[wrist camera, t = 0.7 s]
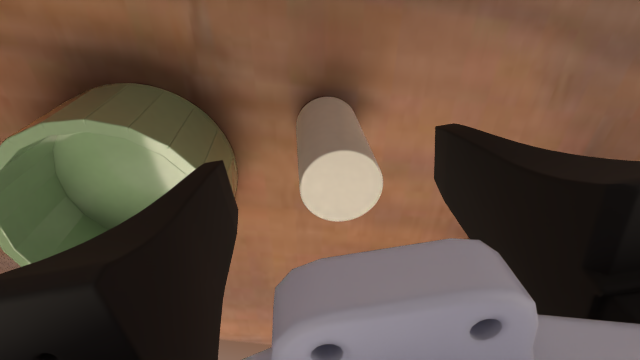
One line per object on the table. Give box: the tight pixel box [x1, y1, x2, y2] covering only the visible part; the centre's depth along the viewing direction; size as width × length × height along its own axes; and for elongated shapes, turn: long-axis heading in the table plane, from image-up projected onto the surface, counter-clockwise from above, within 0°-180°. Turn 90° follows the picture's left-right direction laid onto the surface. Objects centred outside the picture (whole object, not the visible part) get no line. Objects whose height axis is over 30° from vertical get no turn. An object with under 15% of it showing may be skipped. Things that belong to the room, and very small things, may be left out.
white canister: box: [296, 97, 383, 221], centre depth 19 cm, size 4×4×7 cm
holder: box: [0, 83, 238, 267], centre depth 20 cm, size 11×11×6 cm
